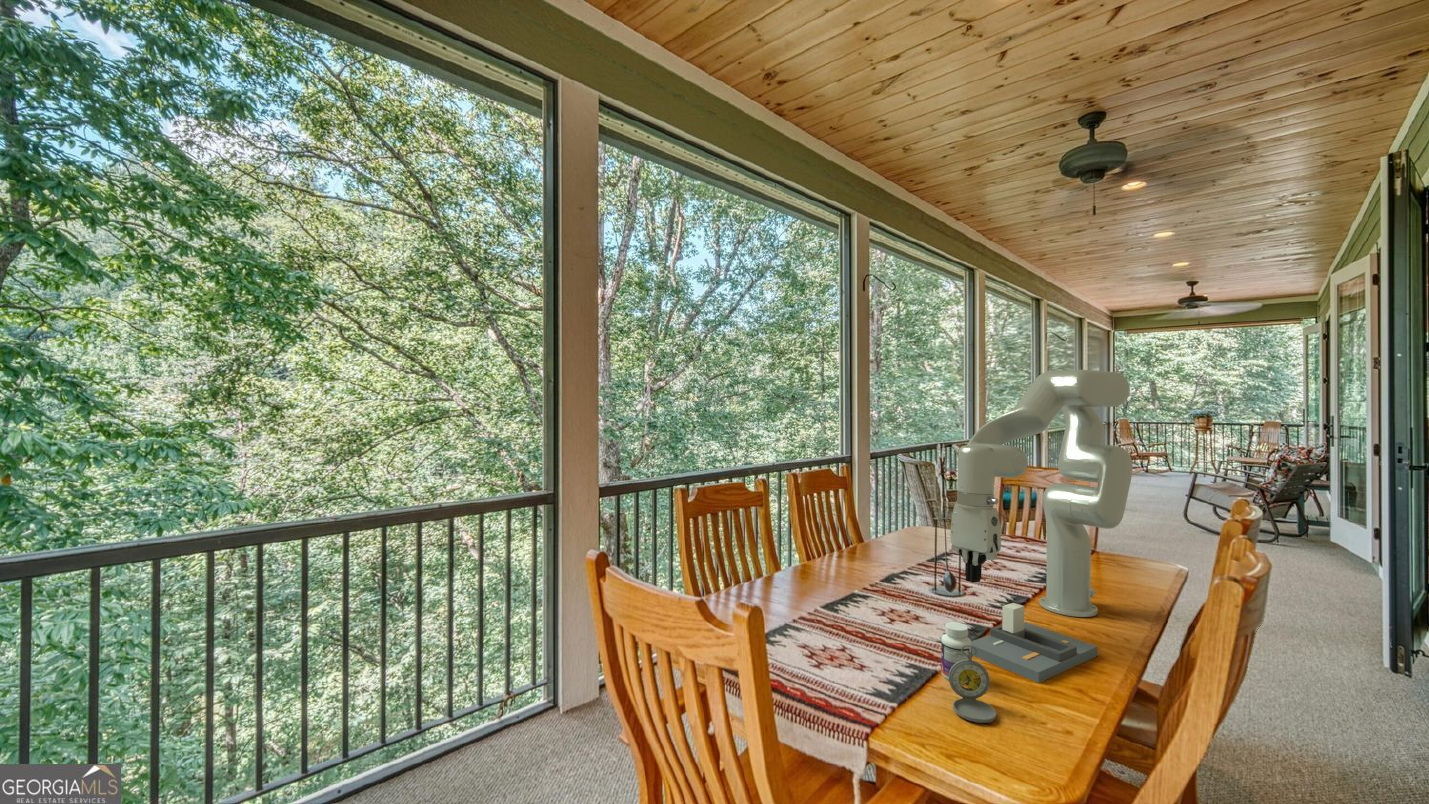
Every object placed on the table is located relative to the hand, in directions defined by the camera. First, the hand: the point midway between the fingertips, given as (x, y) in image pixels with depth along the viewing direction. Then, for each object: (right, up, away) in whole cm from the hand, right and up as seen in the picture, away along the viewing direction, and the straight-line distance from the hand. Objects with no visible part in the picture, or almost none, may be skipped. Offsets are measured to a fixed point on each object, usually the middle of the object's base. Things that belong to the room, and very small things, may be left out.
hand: (973, 580), depth 130 cm
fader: (+5, -10, -7) cm, 13 cm away
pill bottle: (-12, -12, -20) cm, 27 cm away
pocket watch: (-15, -12, -32) cm, 38 cm away
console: (+7, -12, -11) cm, 18 cm away
